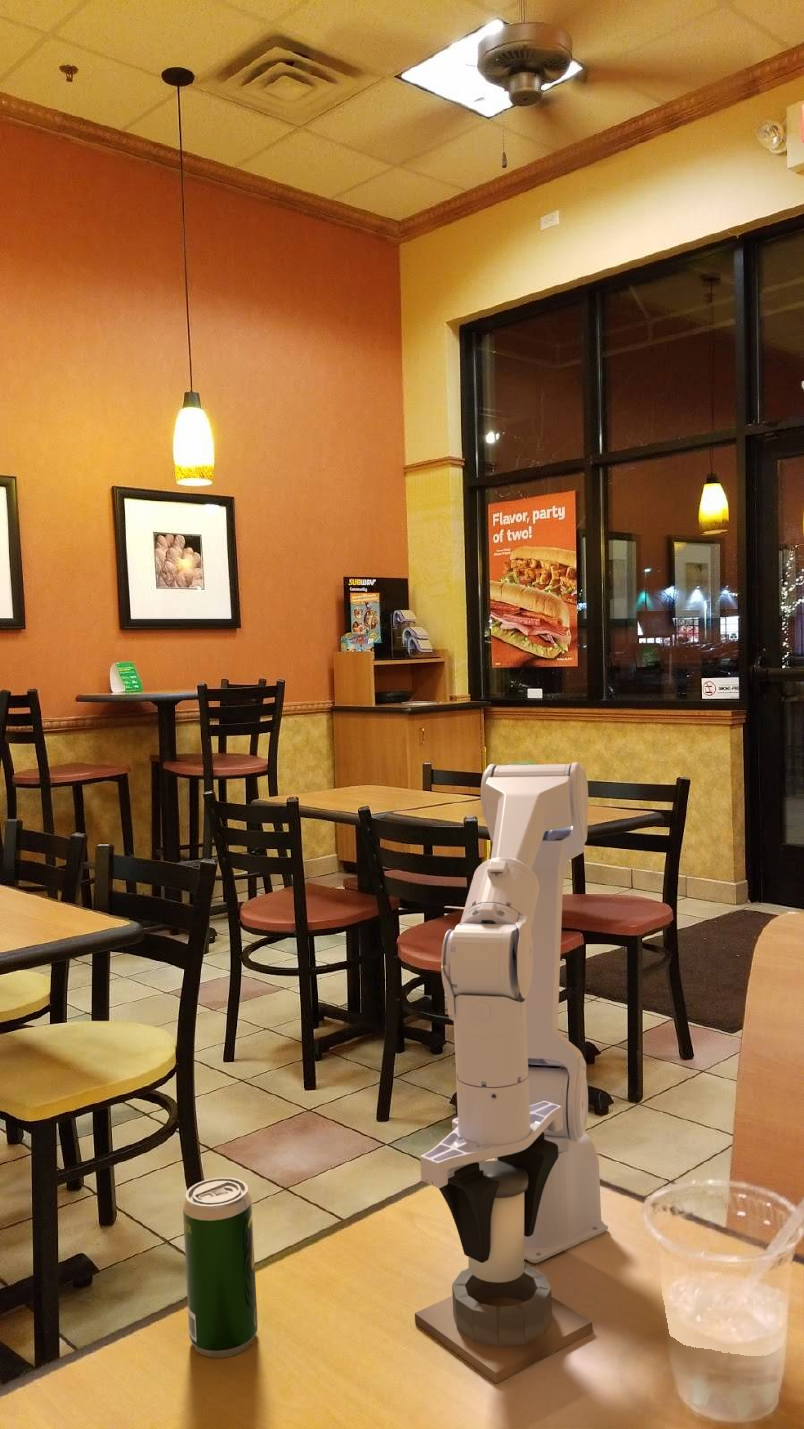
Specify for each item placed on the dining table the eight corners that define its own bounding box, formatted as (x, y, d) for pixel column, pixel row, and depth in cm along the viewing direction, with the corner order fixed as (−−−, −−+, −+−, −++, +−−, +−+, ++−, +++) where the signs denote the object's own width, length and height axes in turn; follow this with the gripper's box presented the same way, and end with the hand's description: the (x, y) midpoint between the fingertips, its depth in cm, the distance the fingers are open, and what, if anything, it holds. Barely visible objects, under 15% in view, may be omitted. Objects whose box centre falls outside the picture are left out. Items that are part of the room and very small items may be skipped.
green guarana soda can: (206, 1369, 85) (198, 1214, 84) (179, 1335, 89) (171, 1189, 89) (269, 1343, 88) (262, 1193, 87) (240, 1312, 92) (233, 1170, 92)
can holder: (508, 1278, 95) (506, 1241, 95) (592, 1331, 87) (591, 1290, 87) (415, 1322, 90) (413, 1282, 89) (496, 1383, 81) (494, 1339, 81)
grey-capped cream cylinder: (493, 1244, 92) (493, 1155, 92) (540, 1267, 88) (541, 1174, 88) (451, 1266, 88) (451, 1173, 88) (499, 1291, 85) (499, 1195, 84)
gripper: (515, 1040, 96) (521, 1196, 96) (390, 1088, 86) (397, 1261, 86) (580, 1059, 90) (586, 1223, 91) (455, 1111, 81) (463, 1295, 81)
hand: (499, 1244), depth 88 cm, fingers closed on grey-capped cream cylinder, 5 cm apart
